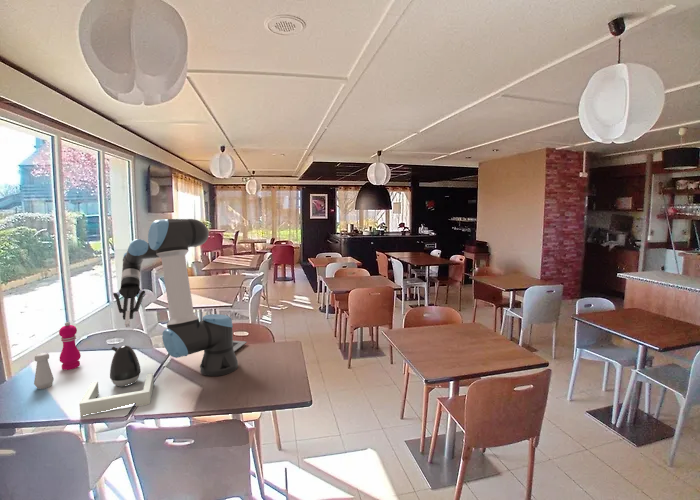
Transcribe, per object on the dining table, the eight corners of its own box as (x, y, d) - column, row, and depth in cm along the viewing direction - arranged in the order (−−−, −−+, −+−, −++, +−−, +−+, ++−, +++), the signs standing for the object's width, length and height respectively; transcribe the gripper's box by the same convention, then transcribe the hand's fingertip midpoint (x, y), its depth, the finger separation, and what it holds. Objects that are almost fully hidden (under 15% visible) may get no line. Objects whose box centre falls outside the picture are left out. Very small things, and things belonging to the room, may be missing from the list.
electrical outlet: (233, 355, 171) (233, 350, 171) (213, 354, 173) (213, 349, 173) (246, 345, 184) (246, 341, 184) (227, 344, 186) (227, 339, 186)
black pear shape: (125, 376, 149) (122, 340, 147) (147, 378, 147) (145, 342, 145) (103, 388, 139) (100, 349, 137) (126, 391, 137) (124, 351, 135)
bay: (92, 394, 134) (91, 382, 134) (153, 384, 142) (153, 373, 142) (80, 416, 120) (79, 403, 119) (149, 404, 128) (149, 391, 127)
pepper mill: (56, 369, 155) (52, 323, 153) (74, 362, 162) (70, 318, 160) (67, 372, 153) (63, 325, 150) (85, 365, 159) (81, 320, 157)
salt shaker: (32, 391, 136) (29, 358, 135) (37, 385, 141) (33, 352, 140) (52, 388, 139) (49, 355, 137) (56, 381, 144) (53, 350, 142)
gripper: (147, 283, 177) (145, 327, 164) (115, 286, 172) (111, 331, 159) (145, 275, 172) (143, 319, 158) (112, 276, 167) (108, 323, 153)
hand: (127, 325), depth 159 cm, fingers closed
